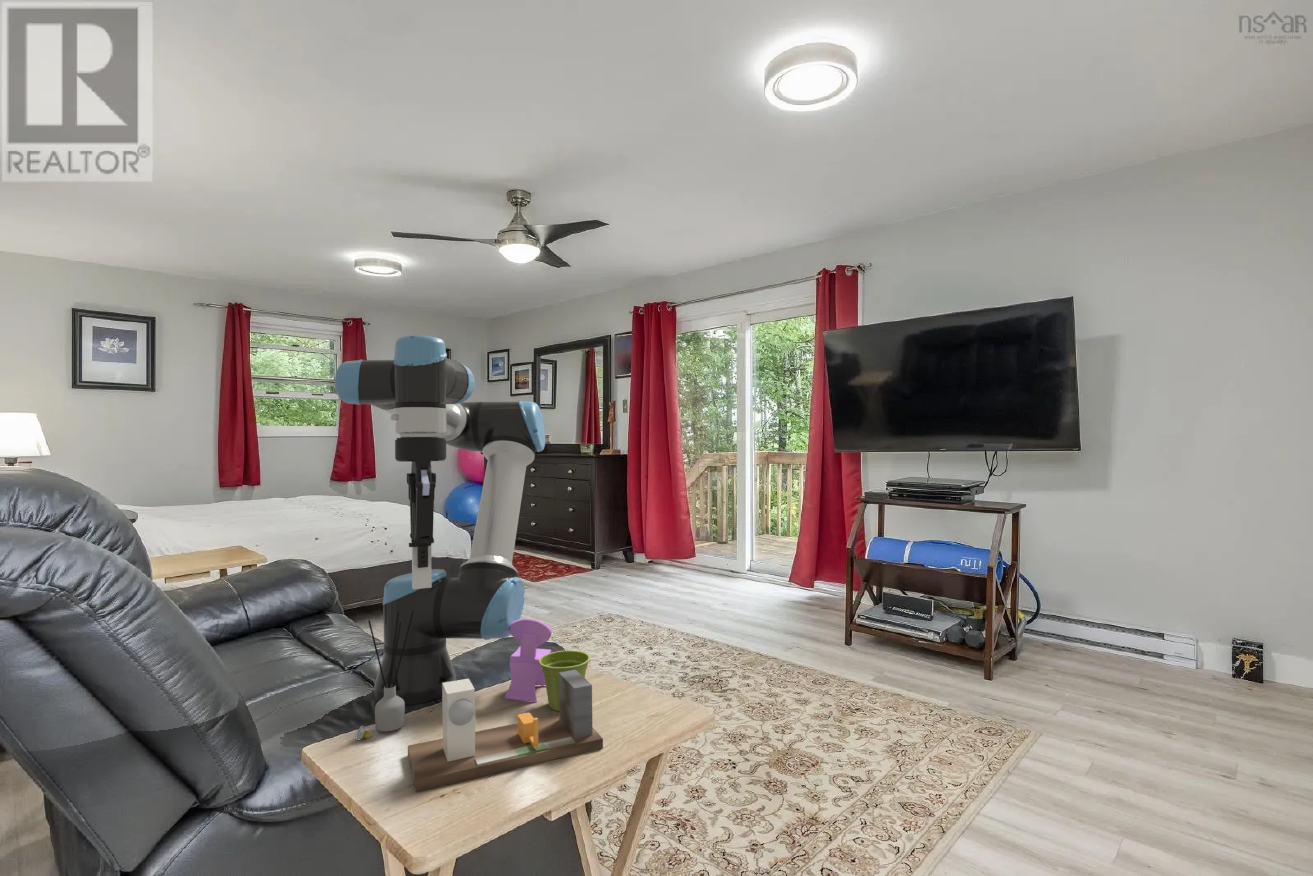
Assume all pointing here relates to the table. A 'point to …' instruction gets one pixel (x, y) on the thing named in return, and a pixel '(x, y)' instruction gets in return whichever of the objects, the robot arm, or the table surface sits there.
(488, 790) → the table surface
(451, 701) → the block
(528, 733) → the orange l-shaped piece
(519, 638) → the toy chair
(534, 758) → the gauge board
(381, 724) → the reed diffuser
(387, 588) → the robot arm
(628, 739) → the table surface
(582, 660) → the plant pot
